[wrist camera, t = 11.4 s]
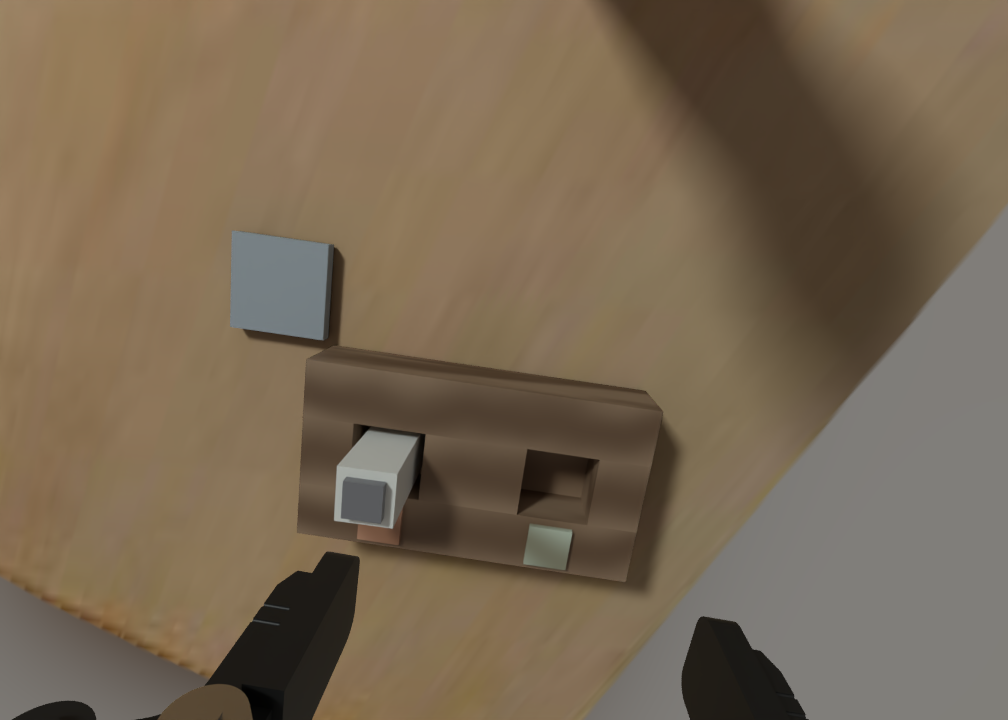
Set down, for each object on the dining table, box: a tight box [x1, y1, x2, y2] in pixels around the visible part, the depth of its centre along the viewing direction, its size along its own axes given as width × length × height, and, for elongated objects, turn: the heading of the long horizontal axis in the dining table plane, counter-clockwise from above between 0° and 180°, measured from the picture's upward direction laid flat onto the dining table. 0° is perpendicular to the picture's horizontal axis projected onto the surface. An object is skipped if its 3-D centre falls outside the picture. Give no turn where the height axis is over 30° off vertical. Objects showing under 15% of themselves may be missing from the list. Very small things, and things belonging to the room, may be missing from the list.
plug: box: [334, 426, 426, 529], centre depth 34 cm, size 4×4×10 cm
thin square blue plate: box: [230, 231, 334, 340], centre depth 37 cm, size 7×7×1 cm
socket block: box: [297, 345, 663, 582], centre depth 37 cm, size 13×24×5 cm, turn 82°
